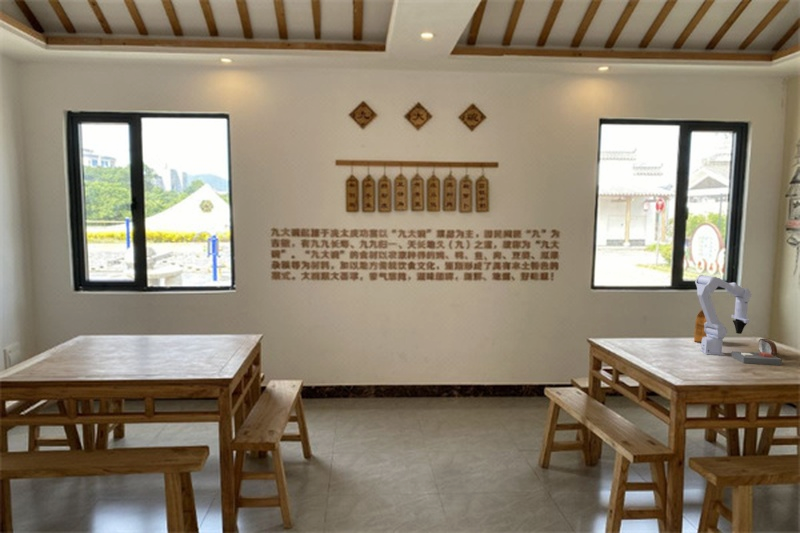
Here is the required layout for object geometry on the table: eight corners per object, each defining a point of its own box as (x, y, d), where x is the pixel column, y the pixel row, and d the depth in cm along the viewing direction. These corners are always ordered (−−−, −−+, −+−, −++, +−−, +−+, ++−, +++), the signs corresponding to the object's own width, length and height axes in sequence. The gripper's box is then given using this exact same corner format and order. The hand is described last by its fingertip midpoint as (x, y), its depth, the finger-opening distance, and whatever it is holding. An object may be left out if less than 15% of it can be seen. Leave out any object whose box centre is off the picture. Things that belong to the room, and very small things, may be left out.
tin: (776, 359, 271) (778, 343, 270) (770, 358, 272) (771, 343, 271) (762, 351, 286) (764, 337, 285) (756, 351, 286) (758, 336, 285)
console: (743, 363, 261) (744, 357, 261) (731, 356, 273) (731, 351, 273) (781, 365, 259) (782, 359, 259) (767, 358, 271) (768, 353, 270)
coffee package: (719, 342, 304) (722, 306, 302) (708, 345, 298) (711, 308, 296) (702, 339, 313) (705, 304, 311) (691, 341, 307) (693, 305, 304)
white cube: (744, 361, 265) (745, 354, 264) (740, 359, 269) (741, 352, 268) (752, 361, 264) (753, 355, 264) (748, 359, 268) (749, 352, 268)
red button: (763, 360, 264) (763, 354, 263) (758, 358, 268) (759, 352, 267) (771, 361, 263) (772, 354, 263) (767, 359, 267) (767, 352, 267)
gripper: (756, 312, 274) (753, 336, 275) (741, 307, 288) (739, 330, 290) (742, 311, 275) (739, 336, 276) (728, 306, 289) (726, 330, 291)
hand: (738, 333), depth 283 cm, fingers closed
